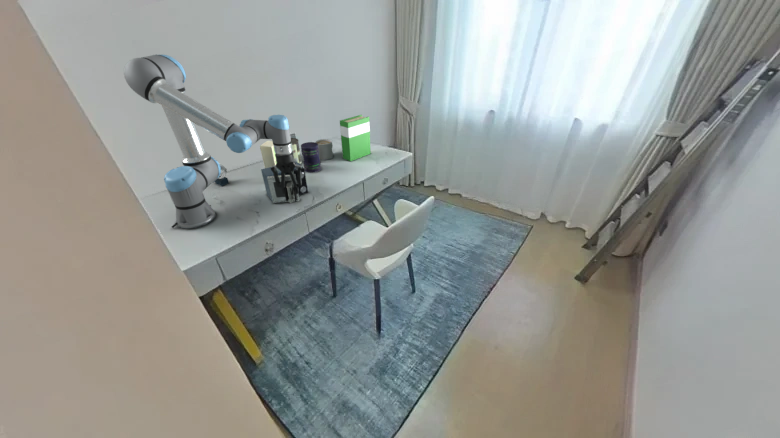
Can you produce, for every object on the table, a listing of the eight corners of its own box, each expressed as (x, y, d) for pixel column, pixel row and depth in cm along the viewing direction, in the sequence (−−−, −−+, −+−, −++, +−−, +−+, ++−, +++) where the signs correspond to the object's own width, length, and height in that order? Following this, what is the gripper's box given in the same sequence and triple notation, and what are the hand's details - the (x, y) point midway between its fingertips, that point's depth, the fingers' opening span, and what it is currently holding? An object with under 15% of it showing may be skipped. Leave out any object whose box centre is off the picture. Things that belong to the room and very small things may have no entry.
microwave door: (298, 207, 151) (293, 181, 143) (271, 210, 149) (264, 184, 142) (299, 199, 158) (295, 174, 150) (273, 201, 156) (267, 176, 148)
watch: (232, 181, 174) (226, 163, 168) (218, 187, 168) (212, 168, 162) (225, 179, 176) (220, 160, 170) (212, 184, 171) (206, 165, 165)
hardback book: (362, 150, 213) (361, 114, 200) (370, 153, 209) (369, 116, 196) (342, 158, 202) (339, 120, 189) (350, 161, 198) (347, 123, 185)
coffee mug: (325, 161, 198) (323, 145, 193) (314, 157, 203) (312, 142, 198) (339, 154, 207) (338, 139, 202) (328, 151, 212) (327, 136, 207)
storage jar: (315, 173, 183) (311, 149, 174) (301, 171, 186) (297, 146, 177) (324, 167, 190) (321, 143, 182) (310, 164, 193) (307, 141, 185)
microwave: (308, 193, 163) (304, 168, 155) (274, 203, 154) (268, 177, 147) (300, 185, 171) (296, 161, 163) (266, 194, 162) (260, 169, 154)
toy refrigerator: (280, 183, 172) (272, 146, 161) (267, 182, 173) (259, 145, 162) (286, 177, 179) (279, 141, 167) (274, 176, 180) (267, 140, 168)
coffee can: (293, 158, 202) (289, 136, 194) (305, 161, 197) (301, 139, 190) (281, 163, 195) (276, 141, 187) (292, 167, 190) (288, 144, 182)
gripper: (262, 156, 132) (272, 203, 146) (302, 155, 134) (308, 203, 147) (266, 149, 139) (275, 195, 152) (304, 149, 140) (310, 195, 153)
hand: (291, 199), depth 149 cm, fingers open, 3 cm apart
